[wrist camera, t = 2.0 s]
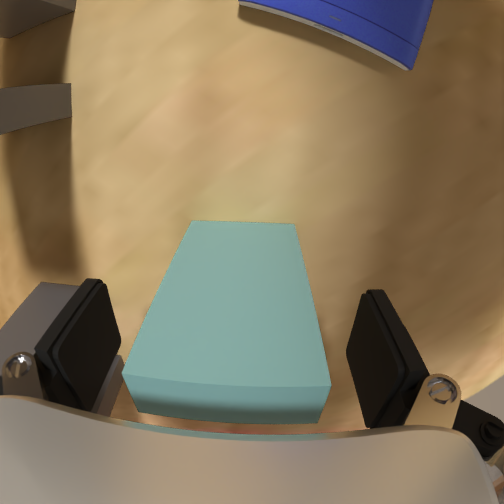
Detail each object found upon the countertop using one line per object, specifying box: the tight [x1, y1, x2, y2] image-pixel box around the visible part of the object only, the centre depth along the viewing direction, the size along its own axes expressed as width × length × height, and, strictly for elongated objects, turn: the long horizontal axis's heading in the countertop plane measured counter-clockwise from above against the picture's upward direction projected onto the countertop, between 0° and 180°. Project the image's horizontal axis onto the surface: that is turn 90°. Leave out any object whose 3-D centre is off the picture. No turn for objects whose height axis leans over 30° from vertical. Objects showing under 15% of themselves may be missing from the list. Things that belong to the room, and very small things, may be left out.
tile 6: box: [88, 355, 124, 417], centre depth 16 cm, size 2×5×10 cm, turn 88°
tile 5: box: [0, 282, 80, 376], centre depth 13 cm, size 2×5×10 cm, turn 88°
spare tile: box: [122, 221, 331, 424], centre depth 11 cm, size 2×5×10 cm, turn 88°
